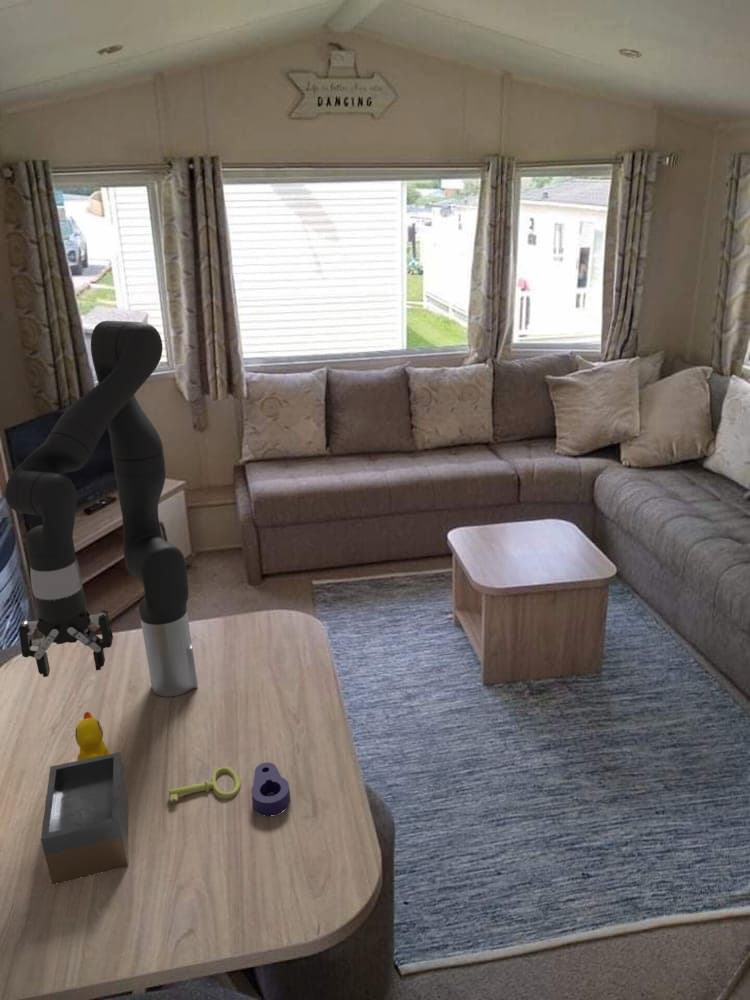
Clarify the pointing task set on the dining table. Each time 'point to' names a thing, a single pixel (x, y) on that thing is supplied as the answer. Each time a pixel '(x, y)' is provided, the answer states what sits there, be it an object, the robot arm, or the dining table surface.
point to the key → (209, 786)
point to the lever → (269, 790)
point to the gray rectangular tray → (86, 818)
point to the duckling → (90, 738)
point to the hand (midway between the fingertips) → (73, 671)
